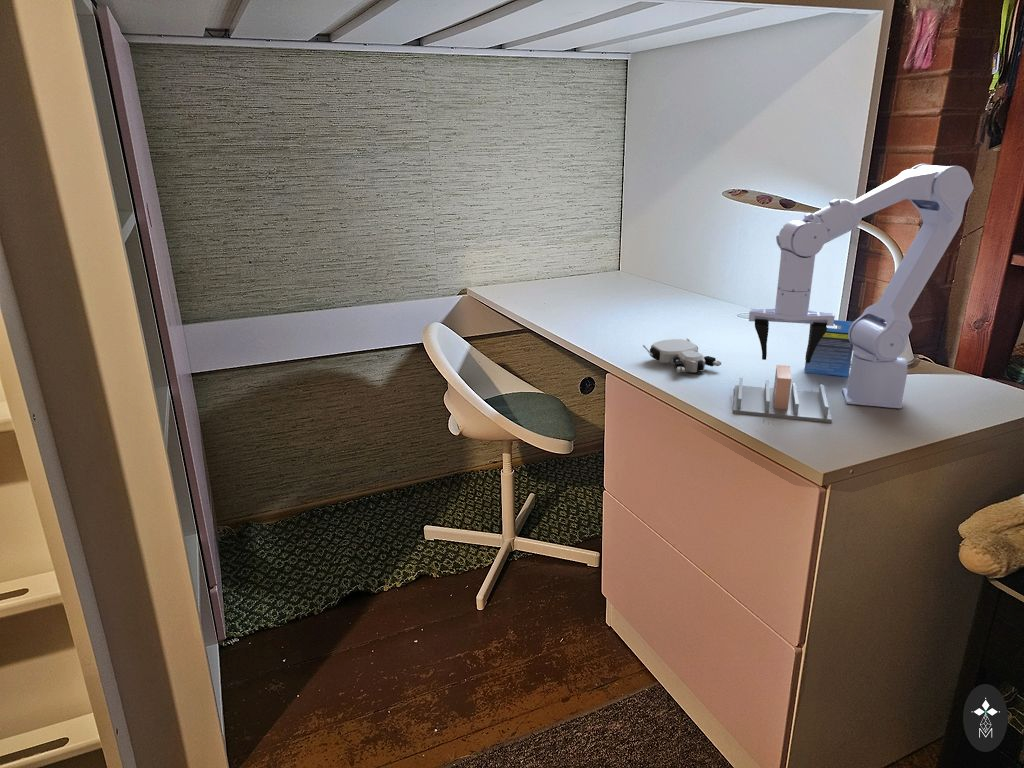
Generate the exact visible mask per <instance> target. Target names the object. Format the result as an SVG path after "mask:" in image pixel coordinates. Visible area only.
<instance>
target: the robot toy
mask: <svg viewBox="0 0 1024 768" xmlns="http://www.w3.org/2000/svg"><path fill="white" fill-rule="evenodd" d="M642 347H643V348H644V349H645V350H646V351H647V352H648V354H649V356H650V357H652V358H653V359H654V360H655V361H657V362H658V363H660V364H663V365H666V364H674V369H675V371H676V372H677V373H679V372H680V373H681V372H682V373H687V372H690V373H697V372H703V371H705V367H706V366H709V367H714V366H715V367H719V366H722V361H720V360H716V357H713V356H709V355H707V356H704V355H703V354H702V353H700V352H699V347H698V345H696V344H695V343H693V342H692V341H691V340H690V338H688V337H687V338H686V339H681V338H674V339H664V340H659V341H656V342H654V343H652V344H651V345H650V349H648V348H647V347H646V345H645V344H642Z"/></svg>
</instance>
